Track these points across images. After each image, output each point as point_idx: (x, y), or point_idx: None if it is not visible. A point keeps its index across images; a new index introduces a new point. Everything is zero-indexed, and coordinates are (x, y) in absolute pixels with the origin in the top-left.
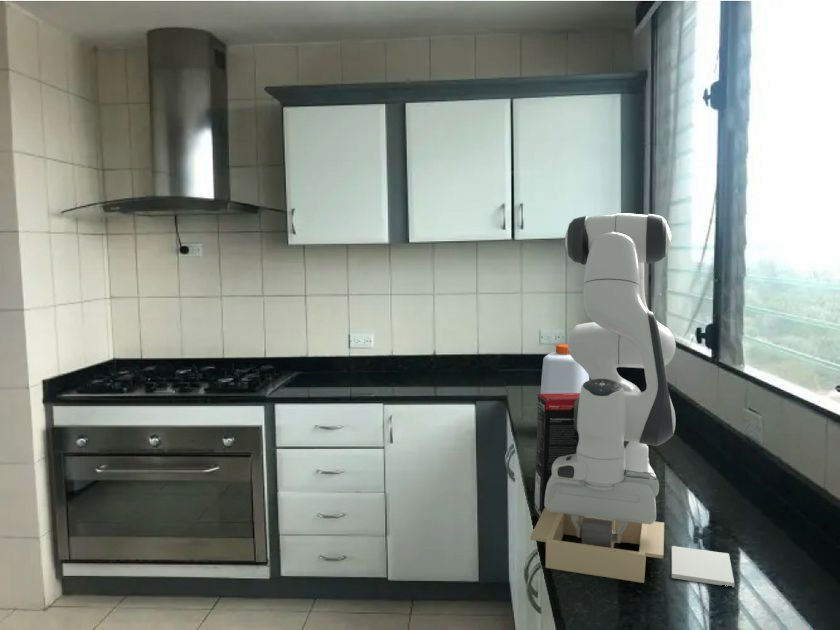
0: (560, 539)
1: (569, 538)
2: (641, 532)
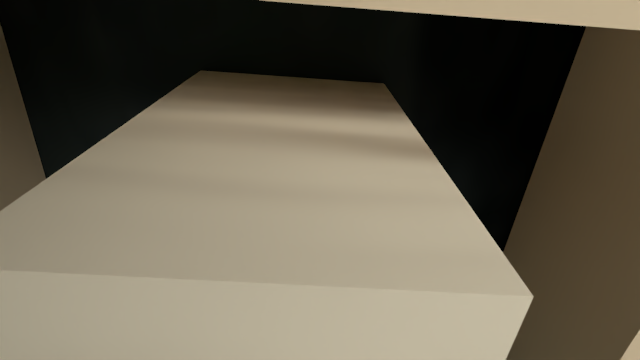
0: (18, 161)
1: (60, 46)
2: (626, 354)
